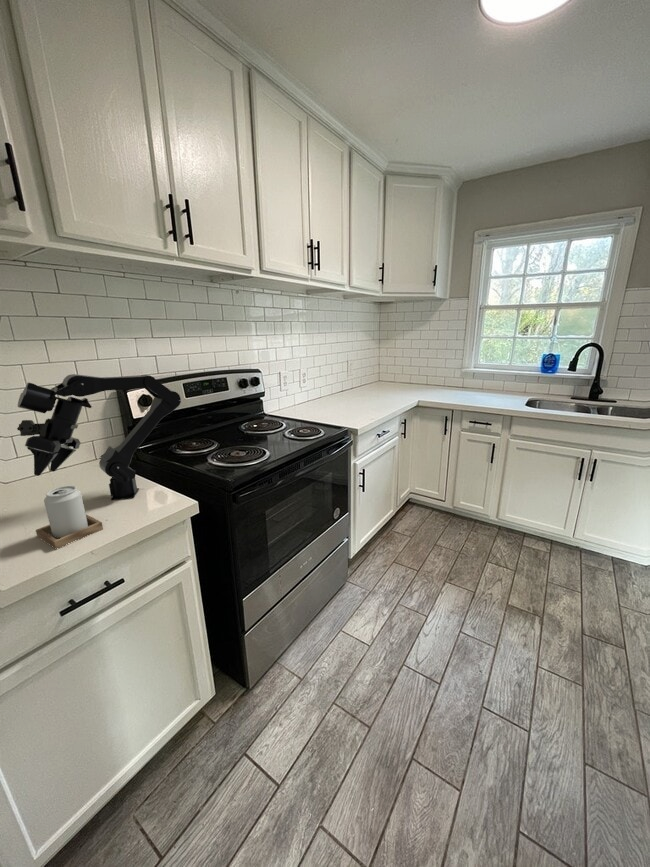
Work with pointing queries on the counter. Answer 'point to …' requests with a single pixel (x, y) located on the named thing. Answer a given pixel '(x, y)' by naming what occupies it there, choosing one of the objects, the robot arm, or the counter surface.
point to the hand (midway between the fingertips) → (44, 473)
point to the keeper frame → (56, 543)
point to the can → (65, 511)
